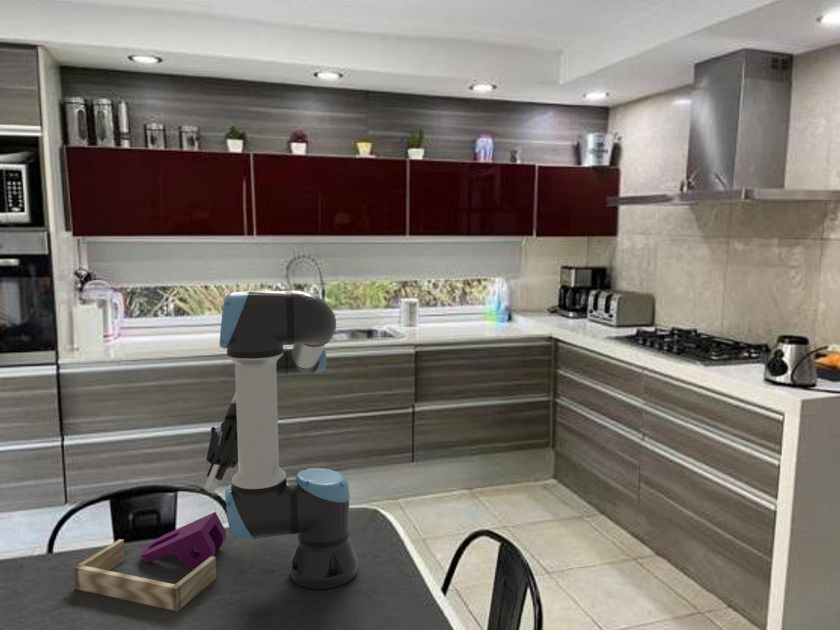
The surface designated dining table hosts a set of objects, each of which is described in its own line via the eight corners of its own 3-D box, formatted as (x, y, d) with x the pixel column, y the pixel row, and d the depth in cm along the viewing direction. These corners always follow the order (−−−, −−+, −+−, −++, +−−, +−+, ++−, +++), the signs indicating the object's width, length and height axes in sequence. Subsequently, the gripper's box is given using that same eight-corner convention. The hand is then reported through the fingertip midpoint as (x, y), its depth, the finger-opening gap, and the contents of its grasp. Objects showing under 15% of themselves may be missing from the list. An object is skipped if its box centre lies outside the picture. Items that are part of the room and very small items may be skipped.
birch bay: (216, 577, 143) (215, 557, 142) (177, 611, 130) (176, 588, 129) (120, 558, 150) (119, 539, 150) (75, 588, 138) (73, 567, 137)
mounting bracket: (150, 591, 148) (217, 561, 146) (132, 560, 147) (200, 530, 145) (168, 569, 157) (231, 541, 155) (152, 540, 156) (215, 511, 154)
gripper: (270, 417, 174) (237, 500, 161) (229, 412, 178) (194, 492, 165) (259, 403, 168) (224, 488, 155) (217, 399, 172) (179, 481, 159)
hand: (208, 490), depth 160 cm, fingers closed
